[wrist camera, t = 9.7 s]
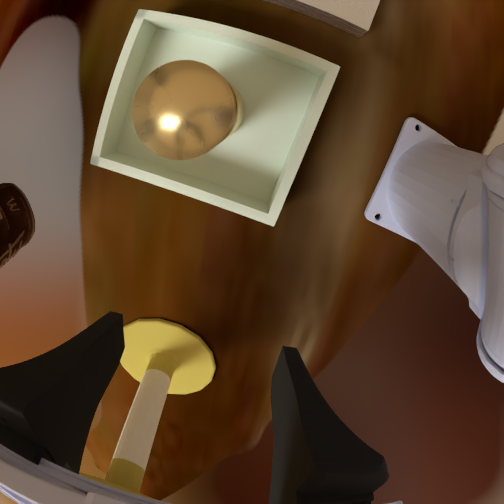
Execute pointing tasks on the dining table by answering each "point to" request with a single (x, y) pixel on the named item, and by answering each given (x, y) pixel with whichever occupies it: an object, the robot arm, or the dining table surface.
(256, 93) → the tray
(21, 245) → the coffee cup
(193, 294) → the dining table surface
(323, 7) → the block
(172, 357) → the candle
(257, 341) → the dining table surface
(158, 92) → the pin
